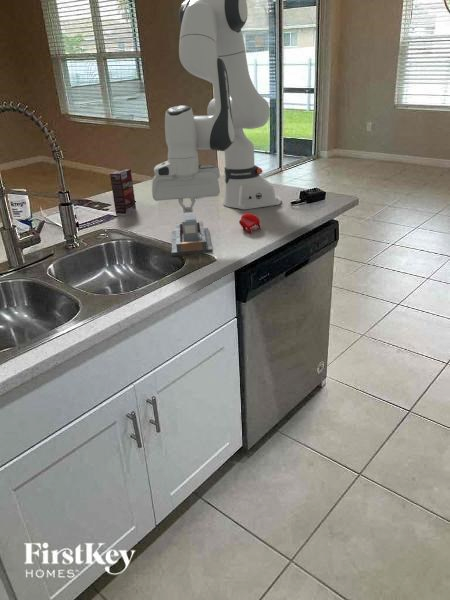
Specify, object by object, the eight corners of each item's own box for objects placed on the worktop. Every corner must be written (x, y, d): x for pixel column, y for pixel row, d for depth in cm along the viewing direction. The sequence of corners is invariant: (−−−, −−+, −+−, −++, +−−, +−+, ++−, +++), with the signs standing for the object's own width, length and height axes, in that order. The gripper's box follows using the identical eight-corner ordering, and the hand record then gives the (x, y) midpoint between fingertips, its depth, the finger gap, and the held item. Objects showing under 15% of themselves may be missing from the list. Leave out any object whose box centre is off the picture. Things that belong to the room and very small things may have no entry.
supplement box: (127, 216, 178) (120, 173, 171) (115, 215, 180) (108, 173, 173) (137, 209, 186) (131, 168, 178) (126, 209, 187) (119, 168, 180)
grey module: (197, 235, 151) (195, 214, 148) (198, 242, 145) (196, 220, 142) (183, 236, 151) (181, 215, 148) (184, 244, 145) (182, 222, 142)
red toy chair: (245, 226, 150) (259, 214, 150) (234, 216, 153) (248, 204, 153) (252, 240, 156) (266, 228, 157) (242, 230, 160) (255, 219, 160)
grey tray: (208, 230, 158) (207, 220, 156) (212, 252, 140) (211, 241, 138) (172, 233, 157) (171, 223, 156) (172, 255, 139) (170, 244, 138)
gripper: (218, 161, 141) (220, 206, 147) (149, 166, 140) (155, 211, 146) (220, 165, 136) (222, 212, 142) (148, 170, 134) (154, 217, 141)
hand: (188, 212), depth 144 cm, fingers closed
